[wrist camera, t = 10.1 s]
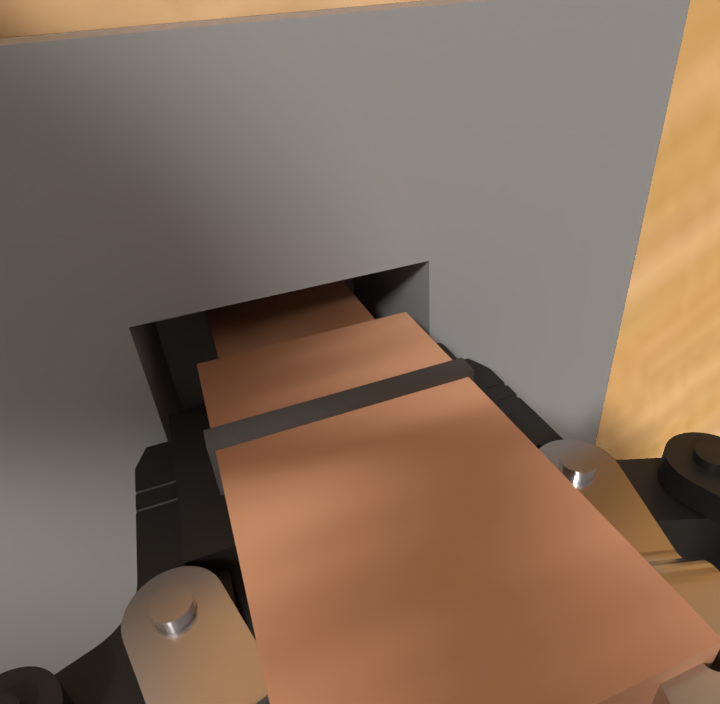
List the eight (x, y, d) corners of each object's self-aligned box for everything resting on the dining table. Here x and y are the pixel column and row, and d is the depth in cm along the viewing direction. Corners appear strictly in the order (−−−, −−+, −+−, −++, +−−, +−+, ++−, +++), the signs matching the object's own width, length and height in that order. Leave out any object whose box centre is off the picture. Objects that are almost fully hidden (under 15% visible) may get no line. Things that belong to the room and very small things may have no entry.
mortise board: (51, 538, 18) (24, 728, 13) (-225, 57, 10) (-519, 93, 6) (480, 407, 22) (579, 516, 17) (505, -7, 15) (693, -19, 10)
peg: (217, 437, 14) (341, 980, 6) (176, 292, 12) (285, 851, 4) (368, 394, 15) (641, 809, 7) (357, 252, 13) (735, 630, 5)
